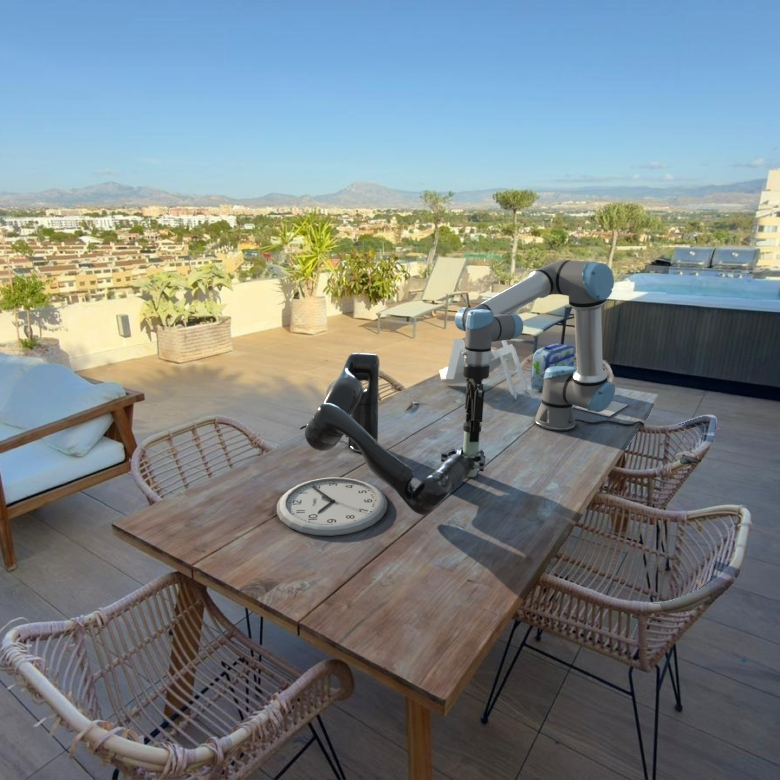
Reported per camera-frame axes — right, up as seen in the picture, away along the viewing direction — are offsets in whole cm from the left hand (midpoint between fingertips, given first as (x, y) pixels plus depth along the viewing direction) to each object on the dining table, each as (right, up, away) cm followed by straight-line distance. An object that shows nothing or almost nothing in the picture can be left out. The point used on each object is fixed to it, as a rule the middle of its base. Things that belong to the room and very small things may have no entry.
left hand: (473, 450), depth 163 cm
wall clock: (-42, -13, -20) cm, 48 cm away
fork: (-17, +12, +60) cm, 63 cm away
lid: (-1, +8, -5) cm, 10 cm away
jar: (-1, -7, 0) cm, 7 cm away
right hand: (-1, +5, -4) cm, 6 cm away
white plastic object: (+16, +18, +80) cm, 84 cm away
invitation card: (+65, +12, +63) cm, 92 cm away
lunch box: (+51, +20, +89) cm, 105 cm away
